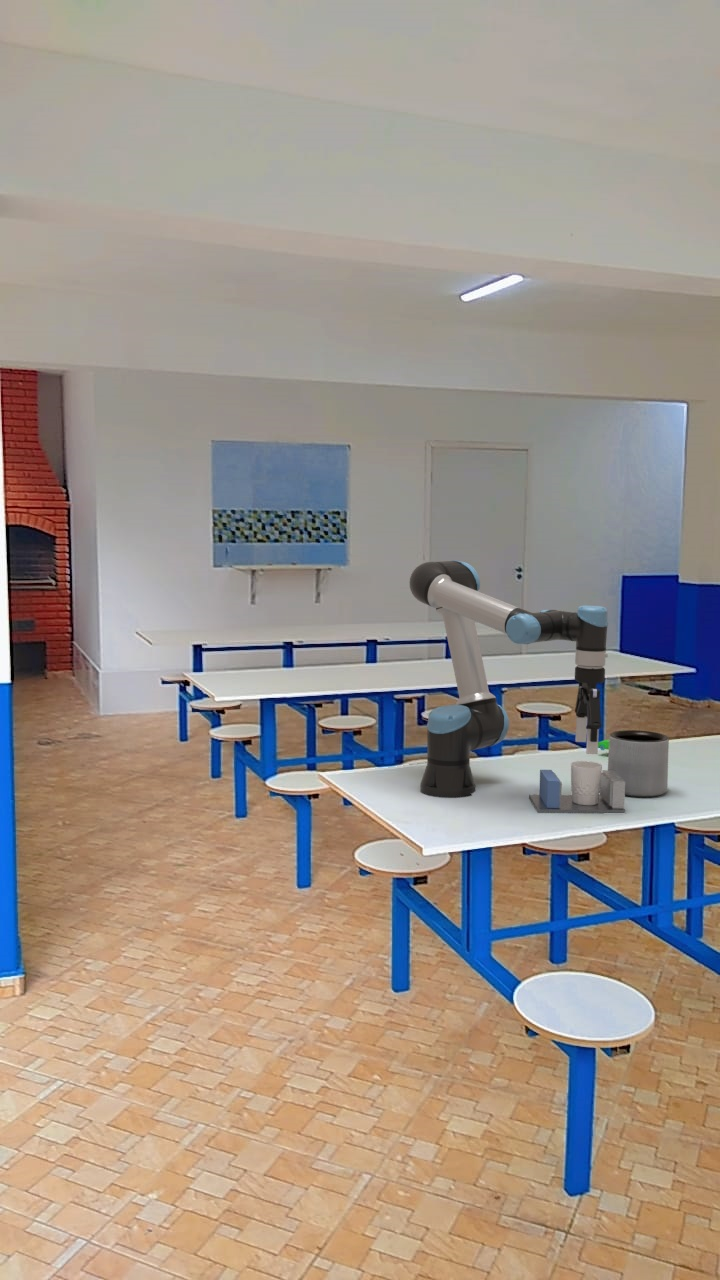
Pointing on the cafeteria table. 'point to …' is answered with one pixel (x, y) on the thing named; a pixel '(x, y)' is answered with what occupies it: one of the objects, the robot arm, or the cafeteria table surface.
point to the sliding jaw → (550, 789)
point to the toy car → (604, 744)
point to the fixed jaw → (612, 789)
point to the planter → (640, 761)
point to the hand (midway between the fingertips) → (586, 747)
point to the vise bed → (573, 806)
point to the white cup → (585, 782)
